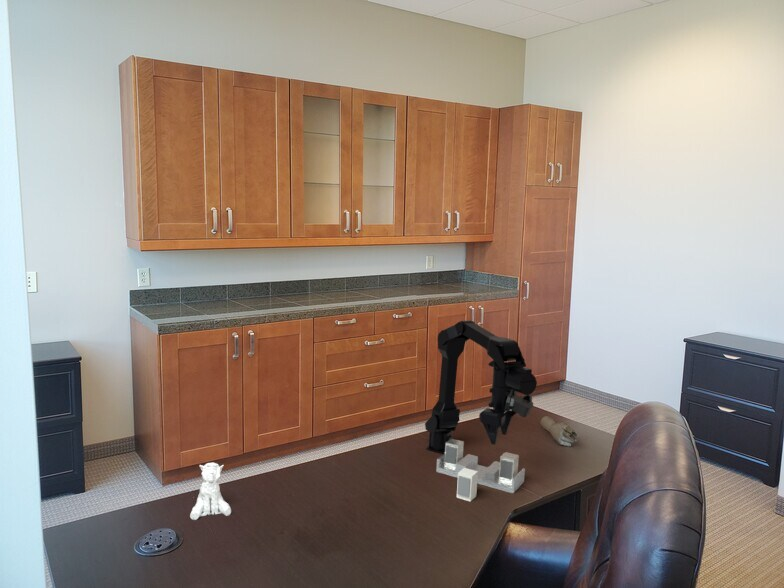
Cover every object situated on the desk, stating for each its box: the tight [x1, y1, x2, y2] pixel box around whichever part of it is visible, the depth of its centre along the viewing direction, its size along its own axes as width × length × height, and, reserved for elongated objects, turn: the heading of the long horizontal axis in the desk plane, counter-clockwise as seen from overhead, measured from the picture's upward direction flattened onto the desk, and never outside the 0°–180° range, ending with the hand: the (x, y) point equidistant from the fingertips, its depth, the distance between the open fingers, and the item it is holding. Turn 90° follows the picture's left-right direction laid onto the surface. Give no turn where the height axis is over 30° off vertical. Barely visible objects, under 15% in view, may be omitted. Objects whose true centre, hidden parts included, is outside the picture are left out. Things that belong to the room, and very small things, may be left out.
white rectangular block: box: [456, 468, 478, 502], centre depth 163 cm, size 4×4×7 cm
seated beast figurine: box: [189, 462, 232, 521], centre depth 149 cm, size 10×9×12 cm
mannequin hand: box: [540, 415, 580, 447], centre depth 209 cm, size 7×7×25 cm
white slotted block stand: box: [435, 438, 526, 494], centre depth 176 cm, size 24×9×8 cm, turn 59°
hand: (498, 439), depth 171 cm, fingers open, 9 cm apart
